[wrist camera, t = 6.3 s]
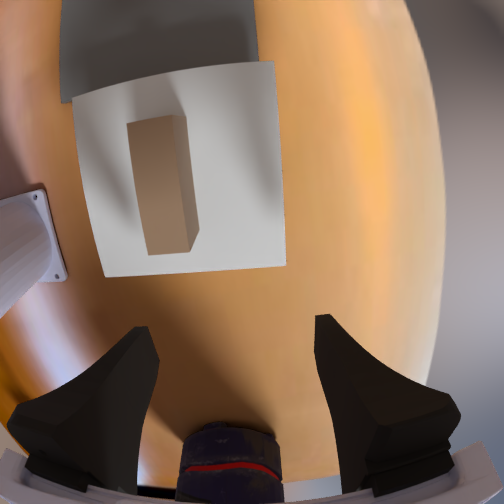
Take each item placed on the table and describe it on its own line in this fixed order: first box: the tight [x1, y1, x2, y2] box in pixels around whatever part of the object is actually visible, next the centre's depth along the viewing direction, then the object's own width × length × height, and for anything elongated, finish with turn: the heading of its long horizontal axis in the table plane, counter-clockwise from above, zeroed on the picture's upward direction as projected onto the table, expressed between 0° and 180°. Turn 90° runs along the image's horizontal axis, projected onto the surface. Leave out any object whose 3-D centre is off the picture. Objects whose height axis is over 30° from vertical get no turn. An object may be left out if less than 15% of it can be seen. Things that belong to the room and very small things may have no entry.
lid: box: [72, 61, 286, 277], centre depth 14 cm, size 11×11×4 cm
